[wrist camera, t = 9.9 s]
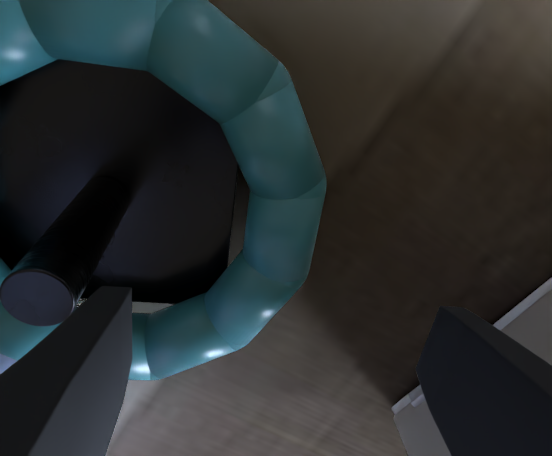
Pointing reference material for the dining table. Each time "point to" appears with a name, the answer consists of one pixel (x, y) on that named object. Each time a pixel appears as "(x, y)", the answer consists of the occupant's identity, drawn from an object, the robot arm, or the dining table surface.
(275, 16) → the dining table surface
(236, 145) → the teal segmented ring
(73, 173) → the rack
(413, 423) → the laptop
